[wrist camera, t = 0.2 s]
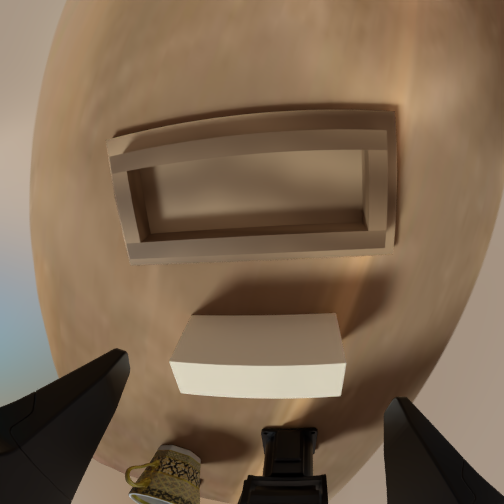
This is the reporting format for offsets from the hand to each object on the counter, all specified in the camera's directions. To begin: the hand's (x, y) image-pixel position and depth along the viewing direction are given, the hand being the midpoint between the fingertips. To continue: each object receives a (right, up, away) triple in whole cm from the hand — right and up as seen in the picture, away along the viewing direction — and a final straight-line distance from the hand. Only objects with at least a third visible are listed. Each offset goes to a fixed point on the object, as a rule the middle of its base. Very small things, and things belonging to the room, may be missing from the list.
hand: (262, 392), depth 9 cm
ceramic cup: (-12, -25, +27) cm, 39 cm away
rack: (-1, +9, +11) cm, 14 cm away
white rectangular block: (+1, -2, +16) cm, 16 cm away
